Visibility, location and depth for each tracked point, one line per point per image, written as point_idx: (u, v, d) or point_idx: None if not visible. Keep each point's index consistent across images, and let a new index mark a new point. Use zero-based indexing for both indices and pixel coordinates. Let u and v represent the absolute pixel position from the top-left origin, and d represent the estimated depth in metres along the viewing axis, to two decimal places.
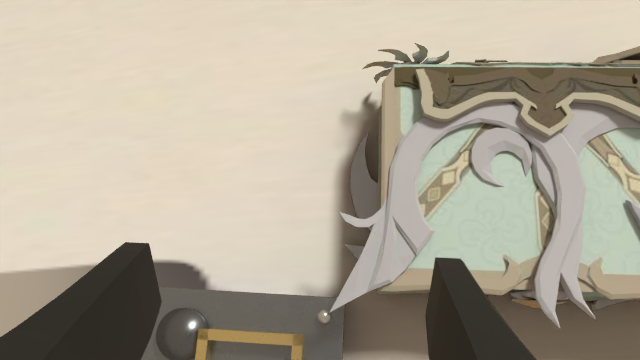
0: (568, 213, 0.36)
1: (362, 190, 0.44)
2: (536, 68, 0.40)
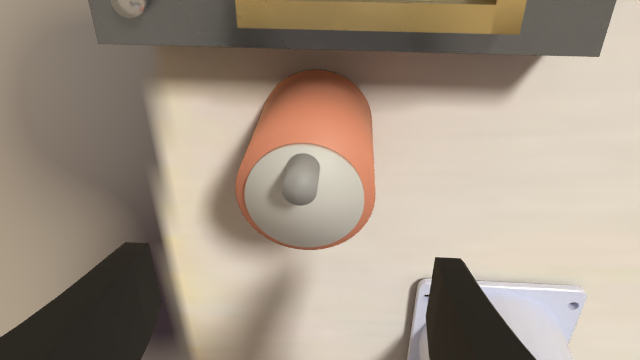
0: None
1: None
2: None
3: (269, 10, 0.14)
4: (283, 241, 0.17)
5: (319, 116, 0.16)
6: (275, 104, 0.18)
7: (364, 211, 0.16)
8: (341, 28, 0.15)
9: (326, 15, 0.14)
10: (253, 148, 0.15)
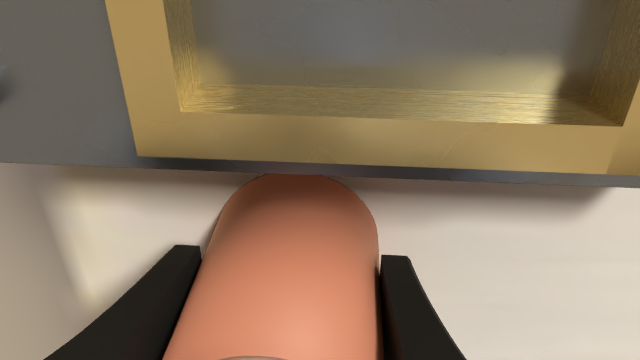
0: None
1: None
2: None
3: (193, 128, 0.08)
4: None
5: (292, 290, 0.09)
6: (225, 244, 0.11)
7: None
8: (327, 159, 0.08)
9: (299, 139, 0.08)
10: (173, 358, 0.09)
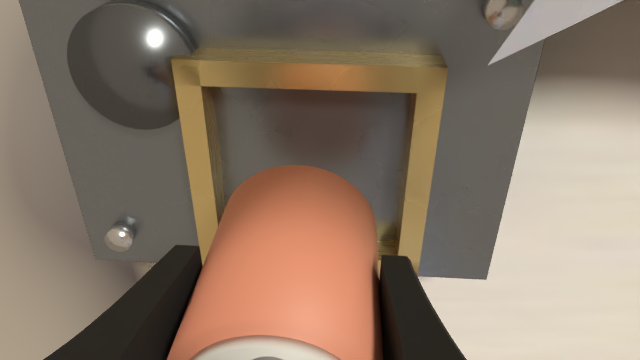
0: None
1: None
2: None
3: None
4: None
5: (300, 276, 0.10)
6: (235, 231, 0.12)
7: None
8: None
9: None
10: (189, 335, 0.09)
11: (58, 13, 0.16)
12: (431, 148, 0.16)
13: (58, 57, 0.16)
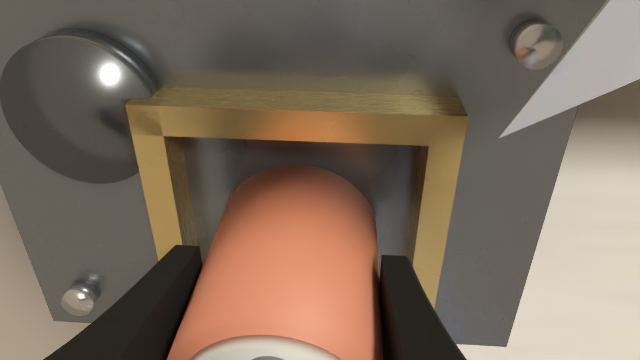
0: None
1: None
2: None
3: None
4: None
5: (300, 275, 0.10)
6: (235, 231, 0.12)
7: None
8: None
9: None
10: (189, 335, 0.09)
11: None
12: (445, 209, 0.13)
13: None
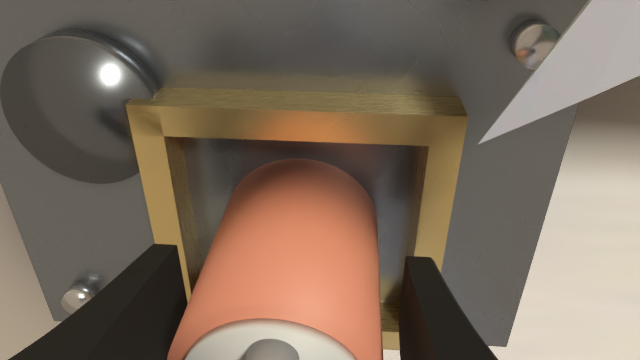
0: None
1: None
2: None
3: None
4: None
5: (302, 262, 0.10)
6: (239, 221, 0.12)
7: None
8: None
9: None
10: (194, 319, 0.10)
11: None
12: (445, 209, 0.13)
13: None
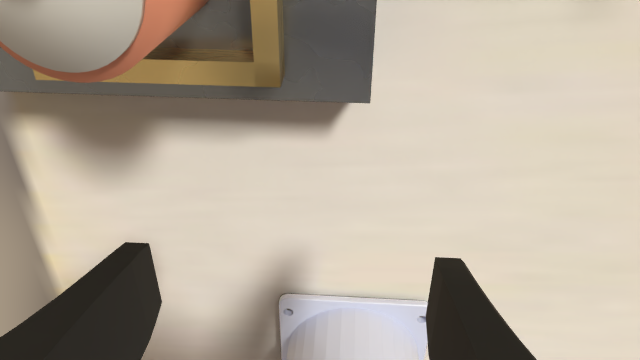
0: None
1: None
2: None
3: None
4: (34, 61, 0.11)
5: None
6: None
7: (149, 14, 0.11)
8: (127, 81, 0.16)
9: None
10: None
11: None
12: None
13: None
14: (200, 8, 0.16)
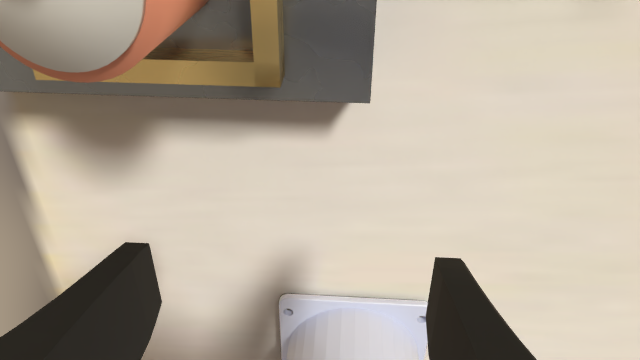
0: None
1: None
2: None
3: None
4: (35, 60, 0.11)
5: None
6: None
7: (150, 14, 0.11)
8: (127, 81, 0.16)
9: None
10: None
11: None
12: None
13: None
14: (200, 8, 0.16)
